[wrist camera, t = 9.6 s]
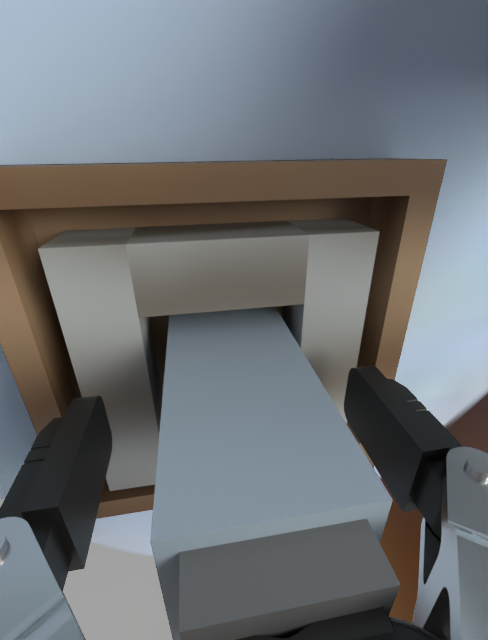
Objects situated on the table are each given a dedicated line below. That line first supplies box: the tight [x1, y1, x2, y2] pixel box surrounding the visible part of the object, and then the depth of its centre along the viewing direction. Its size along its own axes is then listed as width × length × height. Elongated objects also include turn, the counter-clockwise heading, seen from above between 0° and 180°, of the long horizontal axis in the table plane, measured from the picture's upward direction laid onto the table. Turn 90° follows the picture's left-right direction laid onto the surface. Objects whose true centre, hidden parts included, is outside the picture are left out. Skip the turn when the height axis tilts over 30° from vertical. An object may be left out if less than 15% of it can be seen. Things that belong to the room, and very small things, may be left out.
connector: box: [150, 307, 400, 640], centre depth 10 cm, size 4×4×10 cm
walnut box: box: [0, 158, 447, 519], centre depth 13 cm, size 14×14×3 cm
